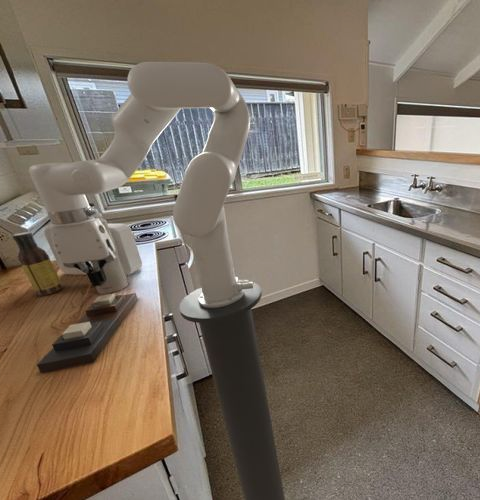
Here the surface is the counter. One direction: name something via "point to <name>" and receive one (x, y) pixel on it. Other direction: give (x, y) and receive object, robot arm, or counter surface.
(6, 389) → the counter surface
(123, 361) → the counter surface
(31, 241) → the sauce bottle
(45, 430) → the counter surface
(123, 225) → the rounded white slab
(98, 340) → the black key block
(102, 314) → the walnut key block
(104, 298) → the low key
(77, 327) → the high key
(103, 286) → the thermos bottle
